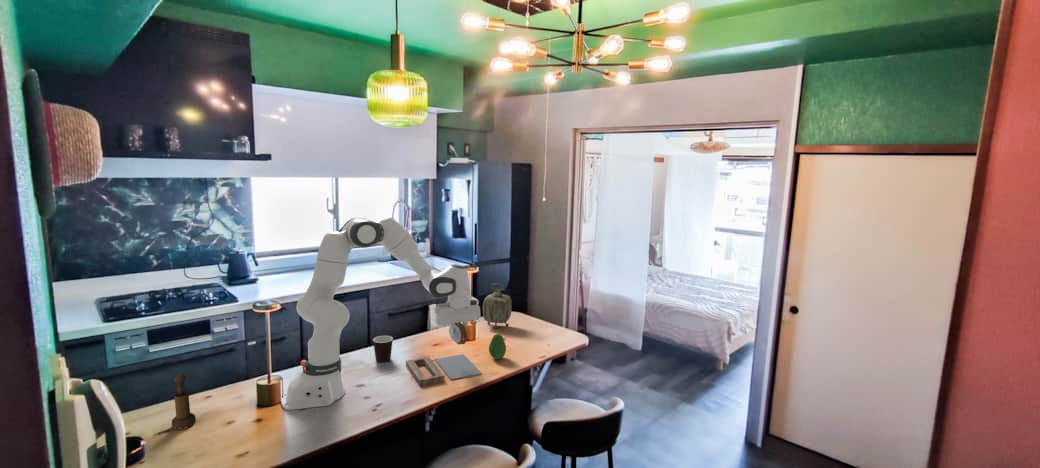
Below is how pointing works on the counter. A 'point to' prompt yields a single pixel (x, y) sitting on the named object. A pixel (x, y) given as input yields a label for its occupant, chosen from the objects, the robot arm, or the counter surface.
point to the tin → (459, 333)
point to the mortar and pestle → (182, 406)
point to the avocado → (497, 347)
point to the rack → (431, 367)
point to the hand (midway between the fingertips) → (457, 331)
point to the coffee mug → (383, 348)
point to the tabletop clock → (497, 307)
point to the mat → (457, 367)
